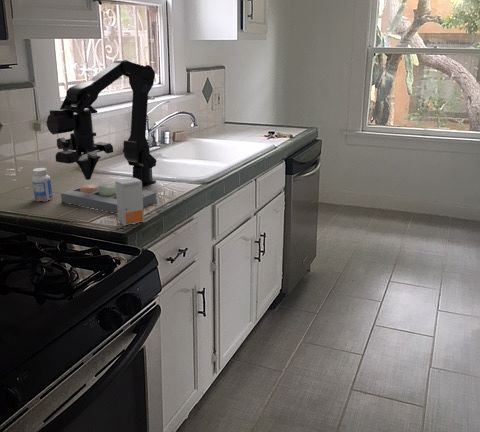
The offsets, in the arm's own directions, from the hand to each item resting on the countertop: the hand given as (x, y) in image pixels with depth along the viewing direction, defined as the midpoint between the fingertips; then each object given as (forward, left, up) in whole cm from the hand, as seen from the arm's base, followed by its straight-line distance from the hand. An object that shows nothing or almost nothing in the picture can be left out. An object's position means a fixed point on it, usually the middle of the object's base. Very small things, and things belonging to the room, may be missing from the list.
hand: (88, 179), depth 166 cm
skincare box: (+10, +27, -6) cm, 29 cm away
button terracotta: (0, 0, -6) cm, 6 cm away
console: (0, +8, -6) cm, 10 cm away
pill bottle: (+8, -12, -6) cm, 16 cm away
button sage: (0, +8, -4) cm, 9 cm away
